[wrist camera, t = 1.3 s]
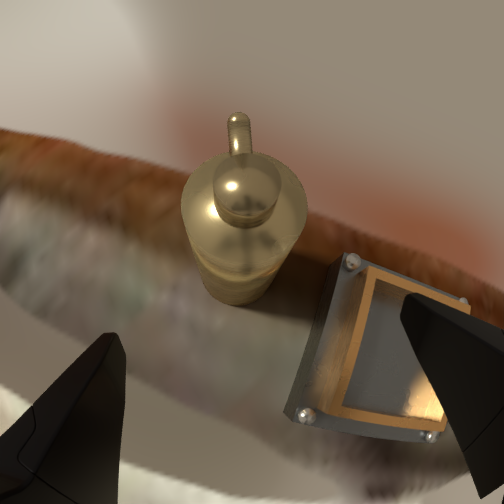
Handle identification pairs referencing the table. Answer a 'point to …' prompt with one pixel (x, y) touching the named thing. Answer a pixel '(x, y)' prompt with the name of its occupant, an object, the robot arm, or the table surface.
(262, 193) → the spout can
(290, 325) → the table surface
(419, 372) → the grey square tray
